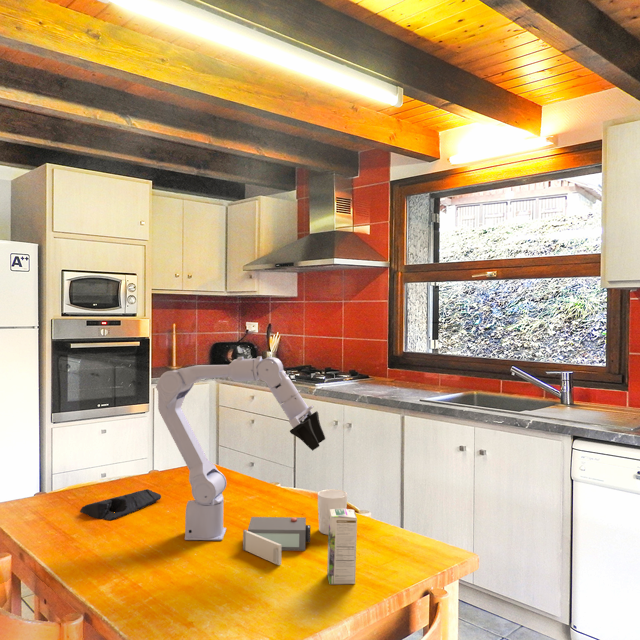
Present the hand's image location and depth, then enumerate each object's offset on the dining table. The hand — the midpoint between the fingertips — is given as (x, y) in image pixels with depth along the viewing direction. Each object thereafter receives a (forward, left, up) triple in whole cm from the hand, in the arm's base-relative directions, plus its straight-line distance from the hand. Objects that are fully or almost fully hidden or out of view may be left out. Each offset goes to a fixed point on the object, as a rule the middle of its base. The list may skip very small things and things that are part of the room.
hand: (319, 444), depth 150 cm
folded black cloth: (-57, +27, -26) cm, 68 cm away
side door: (-14, -9, -25) cm, 30 cm away
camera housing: (-10, 0, -25) cm, 27 cm away
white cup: (+4, +9, -25) cm, 27 cm away
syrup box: (+5, -20, -25) cm, 32 cm away
